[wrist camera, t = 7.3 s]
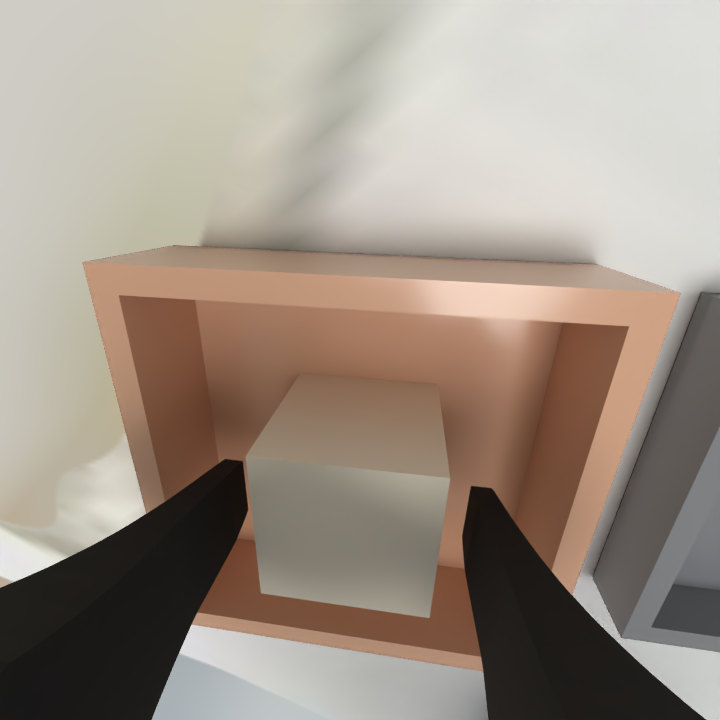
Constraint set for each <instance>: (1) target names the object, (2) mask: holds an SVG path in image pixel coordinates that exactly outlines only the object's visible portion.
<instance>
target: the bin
mask: <svg viewBox="0 0 720 720" xmlns="http://www.w3.org/2000/svg"><path fill="white" fill-rule="evenodd" d="M83 266H84V270H85V274H86V278H87V282H88V286H89V290H90V294H91V298H92V302H93V306H94V309H95V313H96V317H97V321H98V325H99V329H100V333H101V337H102V340H103V345H104V349H105V353H106V357H107V361H108V365H109V368H110V372H111V376H112V380H113V384H114V388H115V392H116V396H117V400H118V404H119V408H120V412H121V416H122V420H123V423H124V427H125V431H126V435H127V439H128V443H129V447H130V451H131V455H132V459H133V463H134V467H135V471H136V475H137V479H138V483H139V487H140V491H141V494H142V498H143V502H144V506H145V510H146V514H147V513H148V512H150V511H151V510H153V509H154V508H156V507H157V506H159V505H160V504H162V503H164V502H165V501H167V500H168V499H170V498H171V497H172V496H174V495H175V494H177V493H178V492H179V491H181V490H182V489H184V488H185V487H186V486H188V485H189V484H191V483H192V482H193V481H195V480H196V479H198V478H199V477H200V476H202V475H203V474H204V473H206V472H207V471H209V470H210V469H211V468H213V467H214V466H216V465H217V464H218V463H220V462H221V461H223V460H224V459H230V460H239V461H243V466H244V475H245V484H246V493H247V501H248V512H247V515H246V518H245V520H244V523H243V525H242V528H241V530H240V533H239V535H238V538H237V540H236V542H235V544H234V546H233V548H232V550H231V552H230V553H229V555H228V557H227V559H226V561H225V563H224V565H223V566H222V568H221V570H220V572H219V574H218V576H217V577H216V579H215V581H214V583H213V585H212V587H211V588H210V590H209V592H208V594H207V596H206V598H205V599H204V601H203V603H202V605H201V607H200V609H199V610H198V612H197V614H196V616H195V618H194V620H193V622H192V625H199V626H205V627H211V628H217V629H223V630H230V631H236V632H242V633H248V634H255V635H261V636H267V637H273V638H279V639H286V640H292V641H298V642H304V643H310V644H317V645H323V646H329V647H335V648H342V649H348V650H354V651H360V652H366V653H373V654H379V655H385V656H391V657H398V658H404V659H410V660H416V661H422V662H429V663H435V664H441V665H447V666H453V667H460V668H466V669H472V670H478V671H483V666H482V660H481V653H480V648H479V643H478V638H477V633H476V628H475V622H474V617H473V612H472V607H471V602H470V596H469V591H468V586H467V580H466V575H465V568H464V557H463V544H462V533H463V527H464V522H465V516H466V511H467V505H468V499H469V494H470V488H471V486H477V487H487V488H492V489H493V490H494V491H495V493H496V494H497V496H498V497H499V499H500V501H501V502H502V504H503V505H504V507H505V508H506V510H507V511H508V513H509V514H510V516H511V517H512V519H513V520H514V522H515V523H516V525H517V526H518V527H519V529H520V530H521V532H522V533H523V534H524V536H525V537H526V539H527V540H528V541H529V543H530V544H531V545H532V547H533V548H534V549H535V551H536V552H537V553H538V555H539V556H540V557H541V559H542V560H543V561H544V562H545V564H546V565H547V566H548V567H549V569H550V570H551V571H552V572H553V573H554V575H555V576H556V577H557V578H558V580H559V581H560V582H561V583H562V584H563V586H564V587H565V588H566V589H567V590H568V591H569V592H570V594H571V595H572V593H573V590H574V588H575V585H576V582H577V579H578V577H579V574H580V571H581V568H582V566H583V563H584V560H585V557H586V554H587V552H588V549H589V546H590V543H591V541H592V538H593V535H594V532H595V530H596V527H597V524H598V521H599V518H600V516H601V513H602V510H603V507H604V505H605V502H606V499H607V496H608V494H609V491H610V488H611V485H612V482H613V480H614V477H615V474H616V471H617V469H618V466H619V463H620V460H621V458H622V455H623V452H624V449H625V447H626V444H627V441H628V438H629V435H630V433H631V430H632V427H633V424H634V422H635V419H636V416H637V413H638V411H639V408H640V405H641V402H642V399H643V397H644V394H645V391H646V388H647V386H648V383H649V380H650V377H651V375H652V372H653V369H654V366H655V364H656V361H657V358H658V355H659V352H660V350H661V347H662V344H663V341H664V339H665V336H666V333H667V330H668V328H669V325H670V322H671V319H672V316H673V314H674V311H675V308H676V305H677V303H678V300H679V297H680V294H681V293H680V292H677V291H674V290H671V289H668V288H665V287H662V286H659V285H656V284H653V283H650V282H648V281H645V280H642V279H639V278H636V277H633V276H630V275H627V274H624V273H621V272H618V271H616V270H613V269H610V268H607V267H604V266H601V265H598V264H579V263H556V262H534V261H512V260H489V259H467V258H445V257H422V256H400V255H378V254H355V253H333V252H311V251H288V250H266V249H243V248H221V247H199V246H176V245H174V246H168V247H163V248H157V249H152V250H146V251H141V252H135V253H130V254H125V255H119V256H114V257H108V258H103V259H97V260H92V261H87V262H83ZM300 373H308V374H320V375H332V376H345V377H357V378H370V379H382V380H395V381H407V382H420V383H432V384H438V389H439V397H440V404H441V412H442V419H443V427H444V435H445V442H446V450H447V457H448V465H449V473H450V483H449V490H448V497H447V503H446V510H445V517H444V524H443V530H442V537H441V544H440V550H439V557H438V564H437V571H436V577H435V584H434V591H433V597H432V604H431V611H430V618H425V617H419V616H412V615H405V614H398V613H391V612H385V611H378V610H371V609H364V608H358V607H351V606H344V605H337V604H330V603H324V602H317V601H310V600H303V599H297V598H290V597H283V596H276V595H270V594H263V593H261V589H260V581H259V572H258V563H257V554H256V545H255V536H254V527H253V518H252V509H251V500H250V491H249V482H248V473H247V465H246V455H247V454H248V452H249V450H250V449H251V447H252V446H253V444H254V443H255V441H256V440H257V438H258V437H259V435H260V434H261V432H262V431H263V429H264V428H265V426H266V425H267V423H268V422H269V420H270V419H271V417H272V416H273V414H274V413H275V411H276V410H277V408H278V406H279V405H280V403H281V402H282V400H283V399H284V397H285V396H286V394H287V393H288V391H289V390H290V388H291V387H292V385H293V384H294V382H295V381H296V379H297V378H298V376H299V375H300Z"/></svg>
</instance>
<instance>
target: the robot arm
mask: <svg viewBox="0 0 720 720" xmlns="http://www.w3.org/2000/svg"><path fill="white" fill-rule="evenodd" d="M247 512H248V501H247V493H246V484H245V475H244V466H243V461H239V460H230V459H224V460H223V461H221V462H220V463H218V464H217V465H216V466H214V467H213V468H211V469H210V470H209V471H207V472H206V473H204V474H203V475H202V476H200V477H199V478H198V479H196V480H195V481H193V482H192V483H191V484H189V485H188V486H186V487H185V488H184V489H182V490H181V491H179V492H178V493H177V494H175V495H174V496H172V497H171V498H170V499H168V500H167V501H165V502H164V503H162V504H160V505H159V506H157V507H156V508H154V509H153V510H151V511H150V512H148V513H147V514H145V515H144V516H142V517H141V518H139V519H138V520H136V521H134V522H133V523H131V524H129V525H128V526H126V527H124V528H123V529H121V530H119V531H118V532H116V533H114V534H112V535H110V536H109V537H107V538H105V539H103V540H102V541H100V542H98V543H96V544H94V545H92V546H90V547H88V548H86V549H84V550H82V551H80V552H78V553H76V554H74V555H72V556H70V557H68V558H66V559H64V560H62V561H60V562H58V563H56V564H54V565H52V566H50V567H48V568H45V569H43V570H41V571H39V572H37V573H34V574H32V575H30V576H27V577H25V578H23V579H20V580H18V581H16V582H13V583H11V584H8V585H6V586H4V587H1V588H0V720H151V719H152V717H153V714H154V712H155V709H156V707H157V704H158V702H159V699H160V697H161V694H162V692H163V689H164V687H165V685H166V682H167V680H168V677H169V675H170V672H171V670H172V668H173V665H174V663H175V661H176V658H177V656H178V654H179V652H180V649H181V647H182V645H183V642H184V640H185V638H186V635H187V633H188V631H189V629H190V626H191V624H192V622H193V620H194V618H195V616H196V614H197V612H198V610H199V609H200V607H201V605H202V603H203V601H204V599H205V598H206V596H207V594H208V592H209V590H210V588H211V587H212V585H213V583H214V581H215V579H216V577H217V576H218V574H219V572H220V570H221V568H222V566H223V565H224V563H225V561H226V559H227V557H228V555H229V553H230V552H231V550H232V548H233V546H234V544H235V542H236V540H237V538H238V535H239V533H240V530H241V528H242V525H243V523H244V520H245V518H246V515H247ZM462 544H463V557H464V568H465V575H466V580H467V586H468V591H469V596H470V602H471V607H472V612H473V617H474V622H475V628H476V633H477V638H478V643H479V648H480V653H481V660H482V666H483V673H484V681H485V690H486V700H487V709H488V718H489V720H706V719H704V718H703V717H702V716H701V715H699V714H698V713H697V712H696V711H694V710H693V709H692V708H691V707H689V706H688V705H687V704H686V703H685V702H683V701H682V700H681V699H680V698H679V697H678V696H677V695H675V694H674V693H673V692H672V691H671V690H670V689H668V688H667V687H666V686H665V685H664V684H663V683H661V682H660V681H659V680H658V679H657V678H656V677H654V676H653V675H652V674H651V673H650V672H649V671H648V670H647V669H646V668H644V667H643V666H642V665H641V664H640V663H639V662H638V661H637V660H636V659H635V658H634V657H633V656H632V655H630V654H629V653H628V652H627V651H626V650H625V649H624V648H623V647H622V646H621V645H620V644H619V643H618V642H617V641H616V640H615V639H614V638H613V637H612V636H611V635H609V634H608V633H607V632H606V631H605V630H604V629H603V628H602V627H601V626H600V625H599V624H598V623H597V622H596V621H595V620H594V619H593V618H592V617H591V615H590V614H589V613H588V612H587V611H586V610H585V609H584V608H583V607H582V606H581V605H580V604H579V602H578V601H577V600H576V599H575V598H574V597H573V596H572V595H571V594H570V592H569V591H568V590H567V589H566V588H565V587H564V586H563V584H562V583H561V582H560V581H559V580H558V578H557V577H556V576H555V575H554V573H553V572H552V571H551V570H550V569H549V567H548V566H547V565H546V564H545V562H544V561H543V560H542V559H541V557H540V556H539V555H538V553H537V552H536V551H535V549H534V548H533V547H532V545H531V544H530V543H529V541H528V540H527V539H526V537H525V536H524V534H523V533H522V532H521V530H520V529H519V527H518V526H517V525H516V523H515V522H514V520H513V519H512V517H511V516H510V514H509V513H508V511H507V510H506V508H505V507H504V505H503V504H502V502H501V501H500V499H499V497H498V496H497V494H496V493H495V491H494V490H493V489H492V488H487V487H477V486H471V488H470V494H469V499H468V505H467V511H466V516H465V522H464V527H463V533H462Z"/></svg>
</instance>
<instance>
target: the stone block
mask: <svg viewBox="0 0 720 720" xmlns="http://www.w3.org/2000/svg"><path fill="white" fill-rule="evenodd" d="M246 465H247V473H248V482H249V491H250V500H251V509H252V518H253V527H254V536H255V545H256V554H257V563H258V572H259V581H260V589H261V593H263V594H270V595H276V596H283V597H290V598H297V599H303V600H310V601H317V602H324V603H330V604H337V605H344V606H351V607H358V608H364V609H371V610H378V611H385V612H391V613H398V614H405V615H412V616H419V617H425V618H430V611H431V604H432V597H433V591H434V584H435V577H436V571H437V564H438V557H439V550H440V544H441V537H442V530H443V524H444V517H445V510H446V503H447V497H448V490H449V483H450V473H449V465H448V457H447V450H446V442H445V435H444V427H443V419H442V412H441V404H440V397H439V389H438V384H432V383H420V382H407V381H395V380H382V379H370V378H357V377H345V376H332V375H320V374H308V373H300V375H299V376H298V378H297V379H296V381H295V382H294V384H293V385H292V387H291V388H290V390H289V391H288V393H287V394H286V396H285V397H284V399H283V400H282V402H281V403H280V405H279V406H278V408H277V410H276V411H275V413H274V414H273V416H272V417H271V419H270V420H269V422H268V423H267V425H266V426H265V428H264V429H263V431H262V432H261V434H260V435H259V437H258V438H257V440H256V441H255V443H254V444H253V446H252V447H251V449H250V450H249V452H248V454H247V455H246Z"/></svg>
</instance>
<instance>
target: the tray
mask: <svg viewBox="0 0 720 720" xmlns="http://www.w3.org/2000/svg"><path fill="white" fill-rule="evenodd" d="M593 580H594V582H595V584H596V586H597V588H598V590H599V592H600V594H601V596H602V598H603V601H604V603H605V605H606V607H607V609H608V611H609V613H610V615H611V617H612V620H613V622H614V624H615V626H616V628H617V630H618V632H619V634H620V636H621V638H626V639H633V640H640V641H647V642H653V643H660V644H667V645H674V646H681V647H688V648H695V649H701V650H708V651H715V652H720V293H701V296H700V298H699V301H698V303H697V306H696V309H695V311H694V314H693V316H692V319H691V322H690V324H689V327H688V329H687V332H686V335H685V337H684V340H683V343H682V345H681V348H680V350H679V353H678V356H677V358H676V361H675V363H674V366H673V369H672V371H671V374H670V377H669V379H668V382H667V384H666V387H665V390H664V392H663V395H662V397H661V400H660V403H659V405H658V408H657V410H656V413H655V416H654V418H653V421H652V424H651V426H650V429H649V431H648V434H647V437H646V439H645V442H644V444H643V447H642V450H641V452H640V455H639V457H638V460H637V463H636V465H635V468H634V471H633V473H632V476H631V478H630V481H629V484H628V486H627V489H626V491H625V494H624V497H623V499H622V502H621V505H620V507H619V510H618V512H617V515H616V518H615V520H614V523H613V525H612V528H611V531H610V533H609V536H608V538H607V541H606V544H605V546H604V549H603V552H602V554H601V557H600V559H599V562H598V565H597V567H596V570H595V572H594V575H593Z"/></svg>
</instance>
